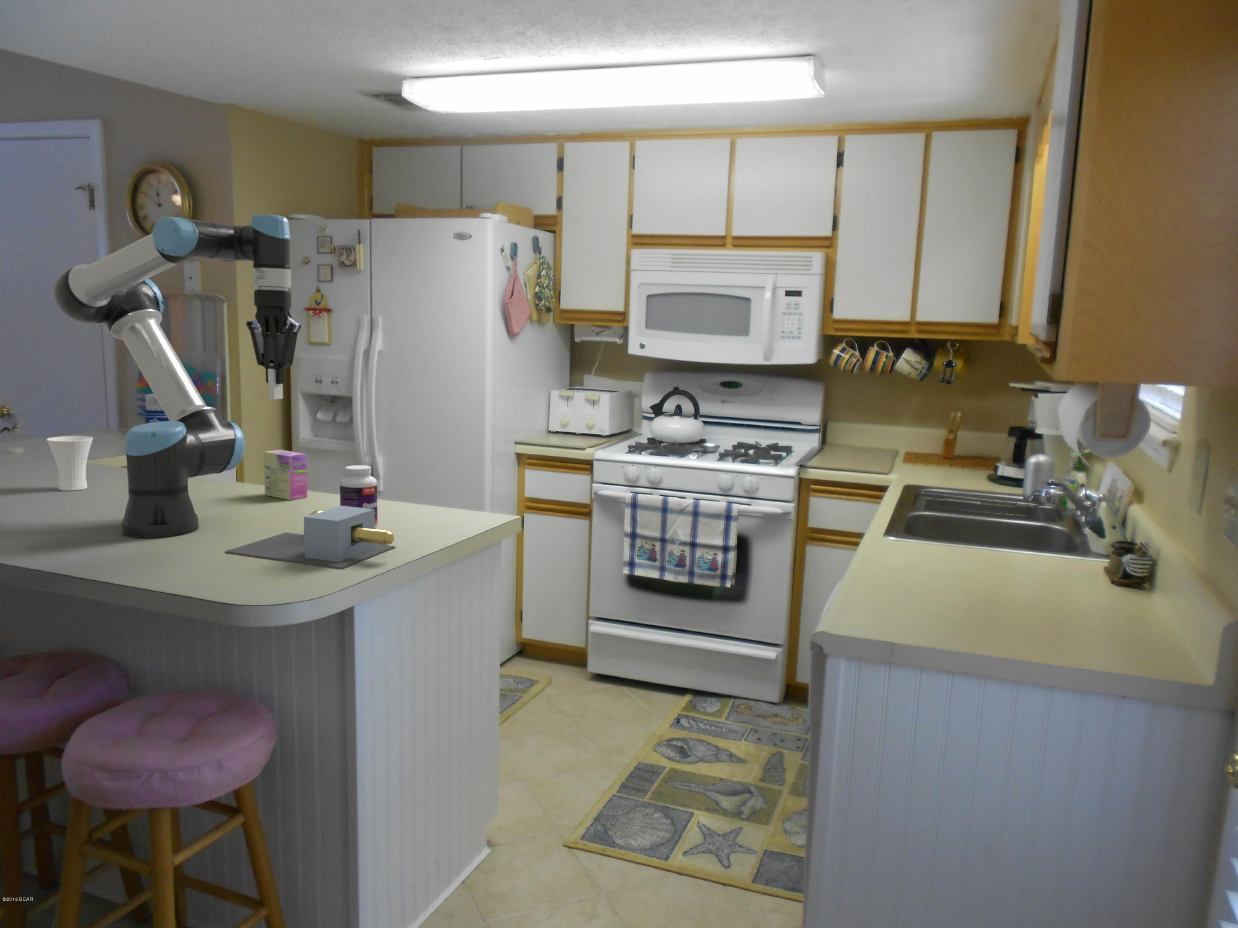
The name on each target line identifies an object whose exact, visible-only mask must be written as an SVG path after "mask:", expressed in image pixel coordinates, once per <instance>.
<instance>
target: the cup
mask: <svg viewBox="0 0 1238 928" xmlns="http://www.w3.org/2000/svg"><path fill="white" fill-rule="evenodd" d="M93 439H94V438H93V436H88V435H65V436H55V437H48V438H46V442H47V444H48V446H49V449H50V452H51V453H52V455H53V458H54V460H55V461H54V462H55V465H56V467H57V471H58V473H57V474H58V480H59V481H58V490H60V491H66V492H67V491H69V492H70V491H80V490H85V489H88V483H87V460H88V457H89V454H90V449H91V446H92V443H93Z"/></svg>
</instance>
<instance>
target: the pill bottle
mask: <svg viewBox="0 0 1238 928" xmlns="http://www.w3.org/2000/svg"><path fill="white" fill-rule="evenodd" d="M344 469H345V475H346V476H344V477H343V478H341V479H340V481H339V497H340V498H339V503H340V504H339V506H349V507H358V508H367V509H374V529H375V530H377V528H378V526H379V525H378V481H377V479H376V478H375V477H373V476H371V475H372V474H371V473H372V467H371V465H365V464H363V465H361V464H360V465H359V464H357V465H349V466H345V468H344Z"/></svg>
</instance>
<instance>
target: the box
mask: <svg viewBox="0 0 1238 928" xmlns="http://www.w3.org/2000/svg"><path fill="white" fill-rule="evenodd" d="M263 464H264V465H263V467H264V468H263V470H264V496H269V497H273V498H278V499H282V500H287V501H296V500H302V499H307V498H308V454H307V453H301V452H294V451H290V450H284V449H275V450H268V451H264V452H263Z"/></svg>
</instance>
